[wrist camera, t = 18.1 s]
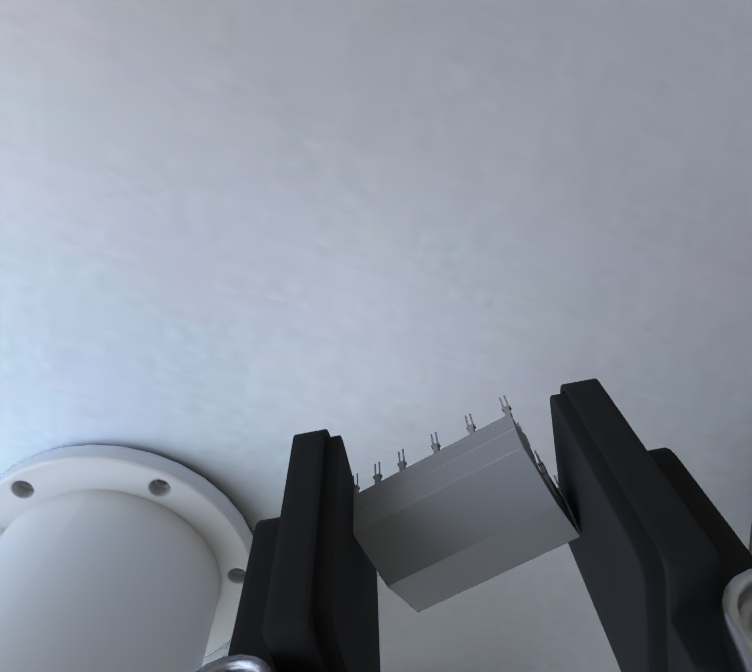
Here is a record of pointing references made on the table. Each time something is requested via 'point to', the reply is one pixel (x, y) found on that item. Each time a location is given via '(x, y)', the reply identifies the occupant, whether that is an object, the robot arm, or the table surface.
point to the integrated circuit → (461, 514)
